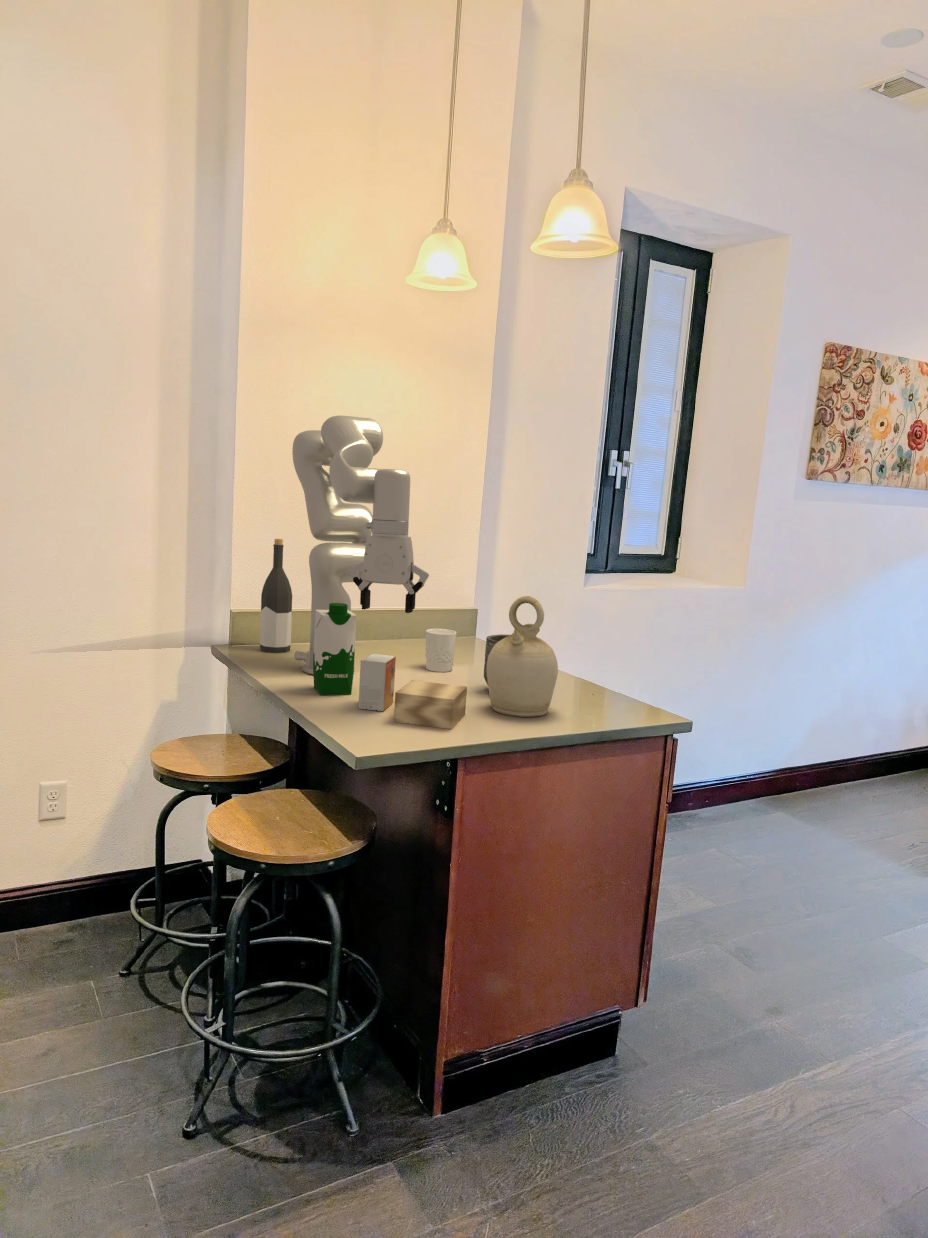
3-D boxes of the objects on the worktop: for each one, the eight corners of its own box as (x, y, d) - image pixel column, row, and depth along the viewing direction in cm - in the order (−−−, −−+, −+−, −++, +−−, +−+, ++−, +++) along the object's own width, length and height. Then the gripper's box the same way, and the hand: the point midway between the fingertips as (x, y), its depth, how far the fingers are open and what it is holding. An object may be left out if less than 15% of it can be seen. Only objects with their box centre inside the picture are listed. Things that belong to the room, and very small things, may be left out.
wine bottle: (296, 650, 239) (300, 540, 235) (275, 654, 232) (279, 540, 228) (274, 645, 243) (278, 537, 239) (253, 649, 237) (256, 537, 232)
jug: (511, 697, 203) (519, 589, 199) (567, 711, 193) (577, 599, 189) (469, 708, 191) (477, 593, 187) (527, 724, 181) (537, 603, 177)
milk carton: (317, 696, 192) (320, 605, 189) (308, 686, 200) (312, 599, 197) (356, 695, 195) (360, 606, 192) (346, 685, 204) (350, 600, 201)
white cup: (418, 670, 225) (420, 631, 224) (431, 664, 232) (433, 627, 231) (447, 674, 222) (449, 635, 221) (458, 668, 230) (461, 631, 228)
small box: (383, 712, 183) (386, 662, 181) (357, 709, 184) (359, 660, 182) (394, 703, 191) (396, 655, 189) (369, 700, 192) (371, 653, 190)
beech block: (393, 721, 176) (395, 692, 175) (410, 707, 188) (412, 680, 187) (451, 729, 174) (453, 699, 173) (465, 714, 185) (467, 686, 184)
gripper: (344, 527, 182) (342, 609, 184) (424, 531, 178) (420, 615, 180) (358, 526, 189) (355, 605, 192) (435, 531, 185) (431, 612, 187)
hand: (387, 610), depth 186 cm, fingers open, 9 cm apart
